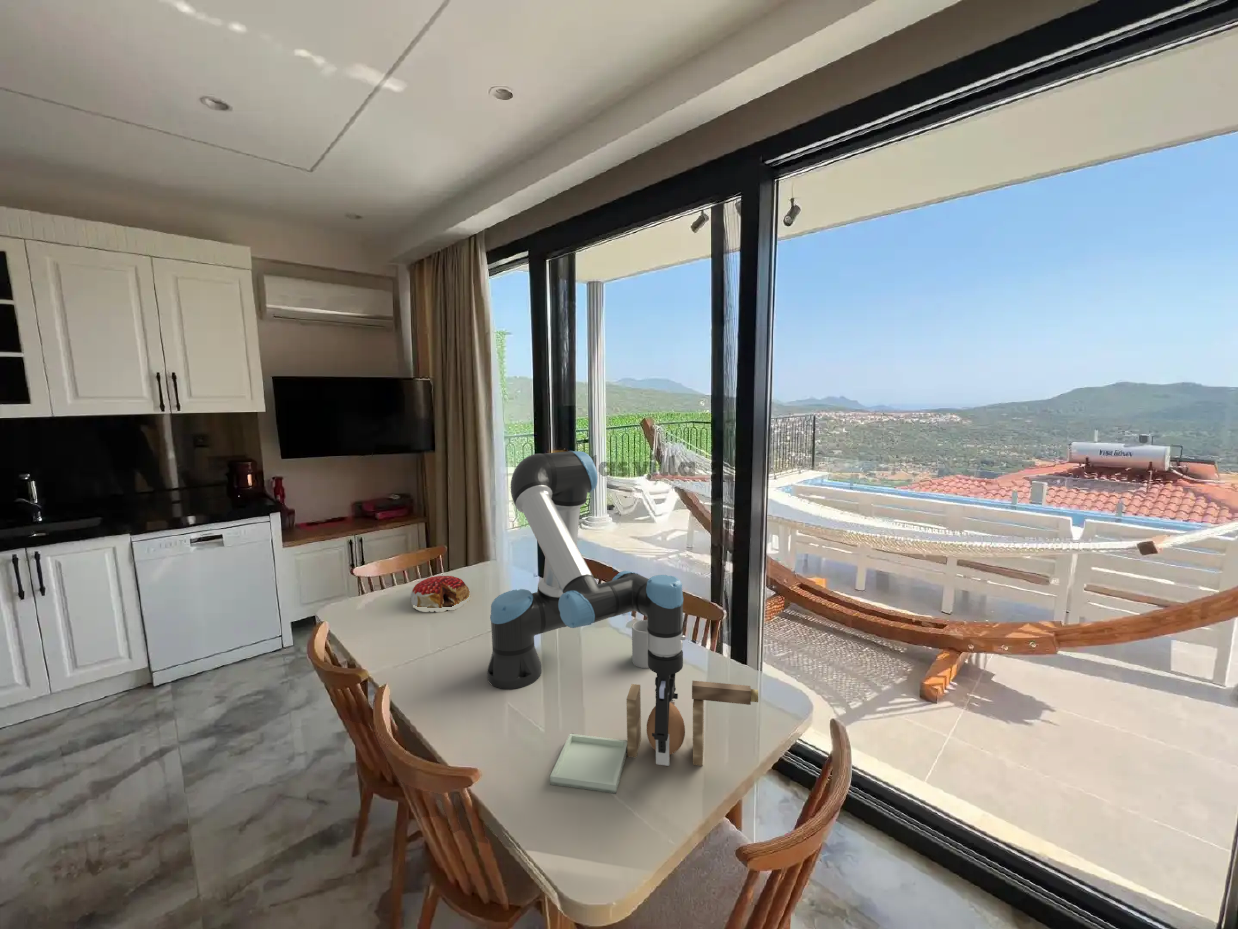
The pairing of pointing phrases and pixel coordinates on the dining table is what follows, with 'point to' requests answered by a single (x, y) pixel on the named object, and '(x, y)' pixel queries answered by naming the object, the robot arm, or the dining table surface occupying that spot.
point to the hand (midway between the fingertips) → (665, 744)
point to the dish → (590, 763)
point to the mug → (640, 644)
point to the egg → (674, 729)
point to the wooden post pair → (635, 725)
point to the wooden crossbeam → (724, 692)
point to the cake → (439, 592)
